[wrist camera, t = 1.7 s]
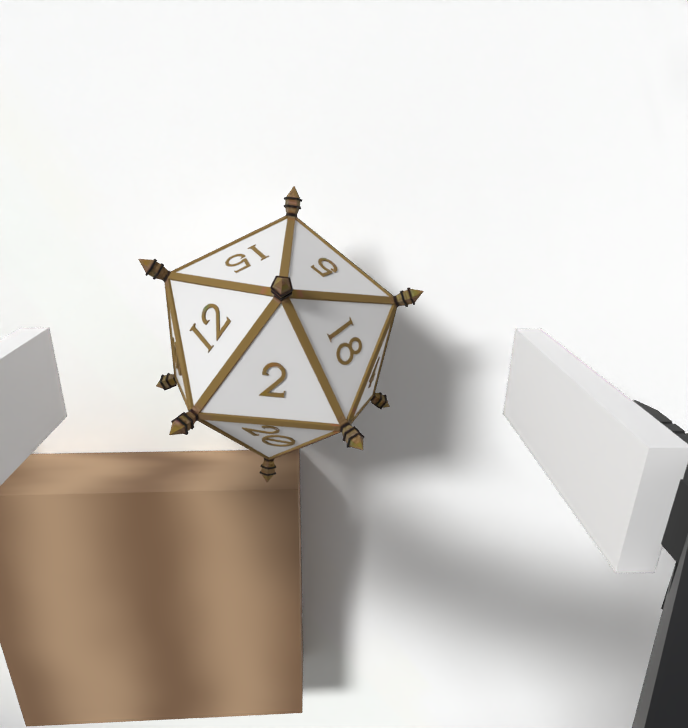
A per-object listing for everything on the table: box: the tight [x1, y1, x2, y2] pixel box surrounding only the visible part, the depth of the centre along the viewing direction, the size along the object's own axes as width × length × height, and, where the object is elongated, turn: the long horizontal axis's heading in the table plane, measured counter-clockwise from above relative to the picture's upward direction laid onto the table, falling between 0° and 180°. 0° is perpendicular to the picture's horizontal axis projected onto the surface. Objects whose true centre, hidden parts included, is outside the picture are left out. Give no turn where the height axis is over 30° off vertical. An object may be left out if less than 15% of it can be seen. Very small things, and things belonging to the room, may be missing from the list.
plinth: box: [0, 449, 303, 726], centre depth 24 cm, size 13×13×3 cm
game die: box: [139, 186, 423, 482], centre depth 18 cm, size 9×8×10 cm
